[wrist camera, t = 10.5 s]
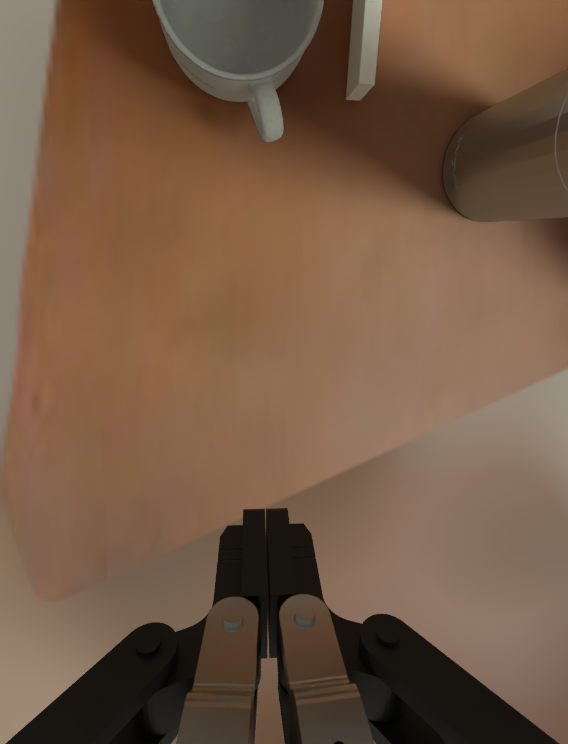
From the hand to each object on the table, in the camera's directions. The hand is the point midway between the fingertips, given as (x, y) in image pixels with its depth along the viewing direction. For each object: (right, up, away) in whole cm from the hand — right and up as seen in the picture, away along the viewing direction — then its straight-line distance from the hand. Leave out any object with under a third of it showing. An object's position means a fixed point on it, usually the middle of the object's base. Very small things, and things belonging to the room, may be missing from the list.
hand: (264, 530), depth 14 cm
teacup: (-3, +30, +20) cm, 36 cm away
